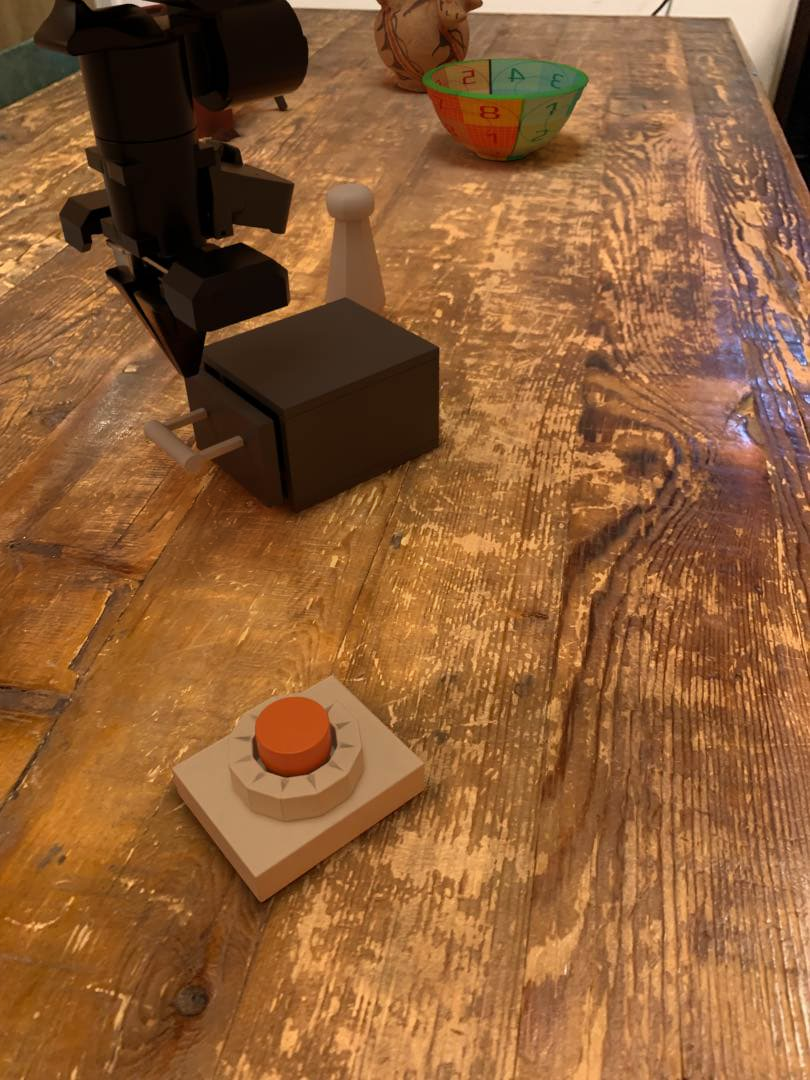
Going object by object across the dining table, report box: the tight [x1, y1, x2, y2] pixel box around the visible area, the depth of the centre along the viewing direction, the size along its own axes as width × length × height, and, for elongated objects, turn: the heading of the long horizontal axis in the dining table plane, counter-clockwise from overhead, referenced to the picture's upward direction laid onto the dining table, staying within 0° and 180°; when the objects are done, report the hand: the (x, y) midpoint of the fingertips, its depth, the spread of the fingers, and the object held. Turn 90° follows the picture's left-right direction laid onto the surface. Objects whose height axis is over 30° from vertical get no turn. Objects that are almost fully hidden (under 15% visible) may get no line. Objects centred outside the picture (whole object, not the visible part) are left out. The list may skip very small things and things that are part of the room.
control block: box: [171, 674, 425, 903], centre depth 48 cm, size 10×8×4 cm
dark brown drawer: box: [143, 368, 287, 509], centre depth 70 cm, size 17×10×7 cm, turn 129°
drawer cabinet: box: [200, 297, 441, 514], centre depth 72 cm, size 14×12×9 cm
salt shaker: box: [324, 183, 387, 316], centre depth 88 cm, size 6×6×13 cm
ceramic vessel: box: [373, 0, 484, 93], centre depth 156 cm, size 18×19×25 cm
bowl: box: [422, 57, 590, 162], centre depth 130 cm, size 22×22×10 cm
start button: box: [255, 697, 332, 776], centre depth 46 cm, size 4×4×2 cm
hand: (189, 374), depth 63 cm, fingers closed
